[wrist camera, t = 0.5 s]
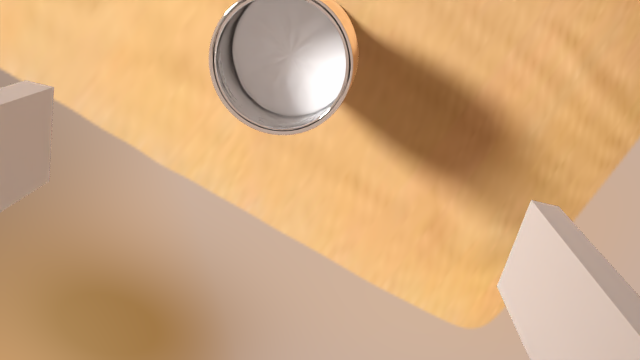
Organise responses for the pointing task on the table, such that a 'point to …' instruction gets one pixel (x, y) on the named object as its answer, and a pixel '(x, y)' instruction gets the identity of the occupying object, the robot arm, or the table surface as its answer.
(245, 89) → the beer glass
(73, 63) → the table surface
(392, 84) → the table surface
